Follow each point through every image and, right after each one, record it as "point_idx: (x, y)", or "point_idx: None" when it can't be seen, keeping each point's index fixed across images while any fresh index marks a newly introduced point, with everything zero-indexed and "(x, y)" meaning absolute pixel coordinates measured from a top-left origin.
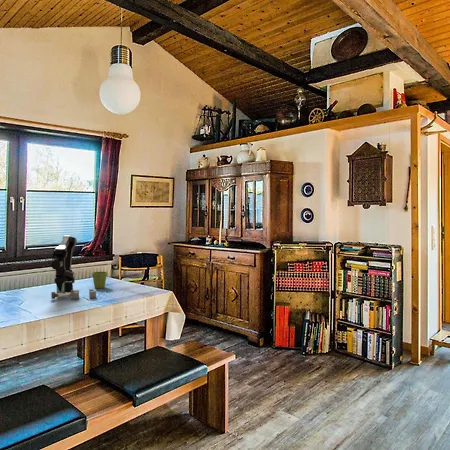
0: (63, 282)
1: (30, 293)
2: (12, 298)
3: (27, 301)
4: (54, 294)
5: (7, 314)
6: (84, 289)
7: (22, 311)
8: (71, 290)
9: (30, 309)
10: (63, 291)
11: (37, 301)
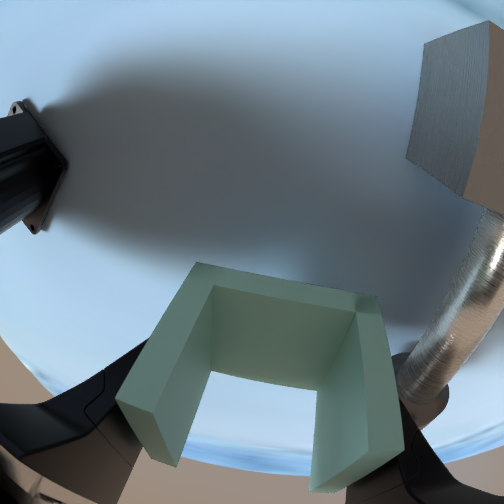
0: (483, 497)
1: None
2: (201, 453)
3: None
4: (446, 400)
5: (478, 451)
6: (9, 15)
7: (490, 433)
8: (488, 192)
9: (494, 421)
10: (377, 317)
11: None
